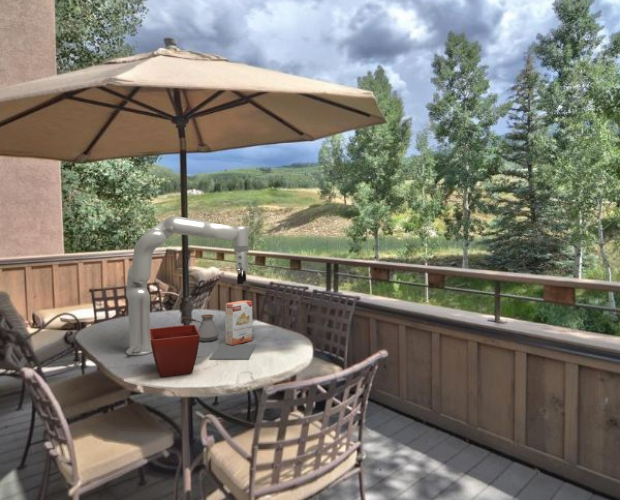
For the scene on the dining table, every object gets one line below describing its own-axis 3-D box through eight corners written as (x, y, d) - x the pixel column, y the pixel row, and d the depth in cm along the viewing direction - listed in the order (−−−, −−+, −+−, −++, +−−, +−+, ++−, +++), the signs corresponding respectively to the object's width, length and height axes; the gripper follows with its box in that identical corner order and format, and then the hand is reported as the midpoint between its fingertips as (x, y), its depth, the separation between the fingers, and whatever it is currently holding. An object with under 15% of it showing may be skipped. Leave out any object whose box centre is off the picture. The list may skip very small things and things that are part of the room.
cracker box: (233, 346, 218) (232, 304, 217) (224, 344, 222) (224, 303, 221) (253, 340, 229) (252, 300, 228) (244, 338, 233) (244, 299, 232)
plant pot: (150, 366, 192) (149, 328, 190) (195, 360, 198) (194, 324, 197) (151, 381, 174) (150, 339, 172) (201, 375, 181) (200, 335, 179)
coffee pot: (210, 335, 240) (210, 308, 238) (223, 339, 232) (222, 311, 230) (175, 343, 224) (174, 314, 223) (187, 348, 216) (186, 318, 215)
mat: (248, 359, 199) (248, 358, 199) (209, 359, 200) (209, 358, 200) (255, 345, 221) (255, 344, 221) (220, 345, 222) (220, 344, 222)
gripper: (245, 250, 223) (246, 285, 224) (250, 248, 240) (251, 280, 242) (230, 250, 223) (231, 285, 224) (237, 248, 240) (237, 280, 242)
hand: (241, 282), depth 233 cm, fingers open, 7 cm apart
